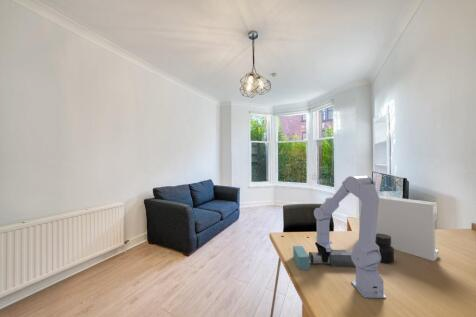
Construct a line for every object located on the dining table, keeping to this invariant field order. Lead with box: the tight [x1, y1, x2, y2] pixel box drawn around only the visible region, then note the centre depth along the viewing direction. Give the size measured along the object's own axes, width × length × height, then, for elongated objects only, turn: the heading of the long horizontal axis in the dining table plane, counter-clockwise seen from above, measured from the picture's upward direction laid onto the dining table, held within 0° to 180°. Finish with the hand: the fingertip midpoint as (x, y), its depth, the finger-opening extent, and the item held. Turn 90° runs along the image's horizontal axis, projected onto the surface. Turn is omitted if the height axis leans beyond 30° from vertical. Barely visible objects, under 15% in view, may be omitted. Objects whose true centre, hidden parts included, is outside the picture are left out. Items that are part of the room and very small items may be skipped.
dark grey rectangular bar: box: [328, 249, 355, 268], centre depth 97 cm, size 6×14×6 cm, turn 87°
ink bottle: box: [375, 234, 395, 264], centre depth 100 cm, size 10×9×12 cm
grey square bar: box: [308, 251, 330, 264], centre depth 97 cm, size 4×18×4 cm, turn 87°
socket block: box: [292, 245, 311, 271], centre depth 98 cm, size 12×5×6 cm, turn 177°
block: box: [358, 195, 440, 262], centre depth 116 cm, size 35×8×28 cm, turn 33°
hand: (323, 260), depth 97 cm, fingers closed on grey square bar, 4 cm apart
